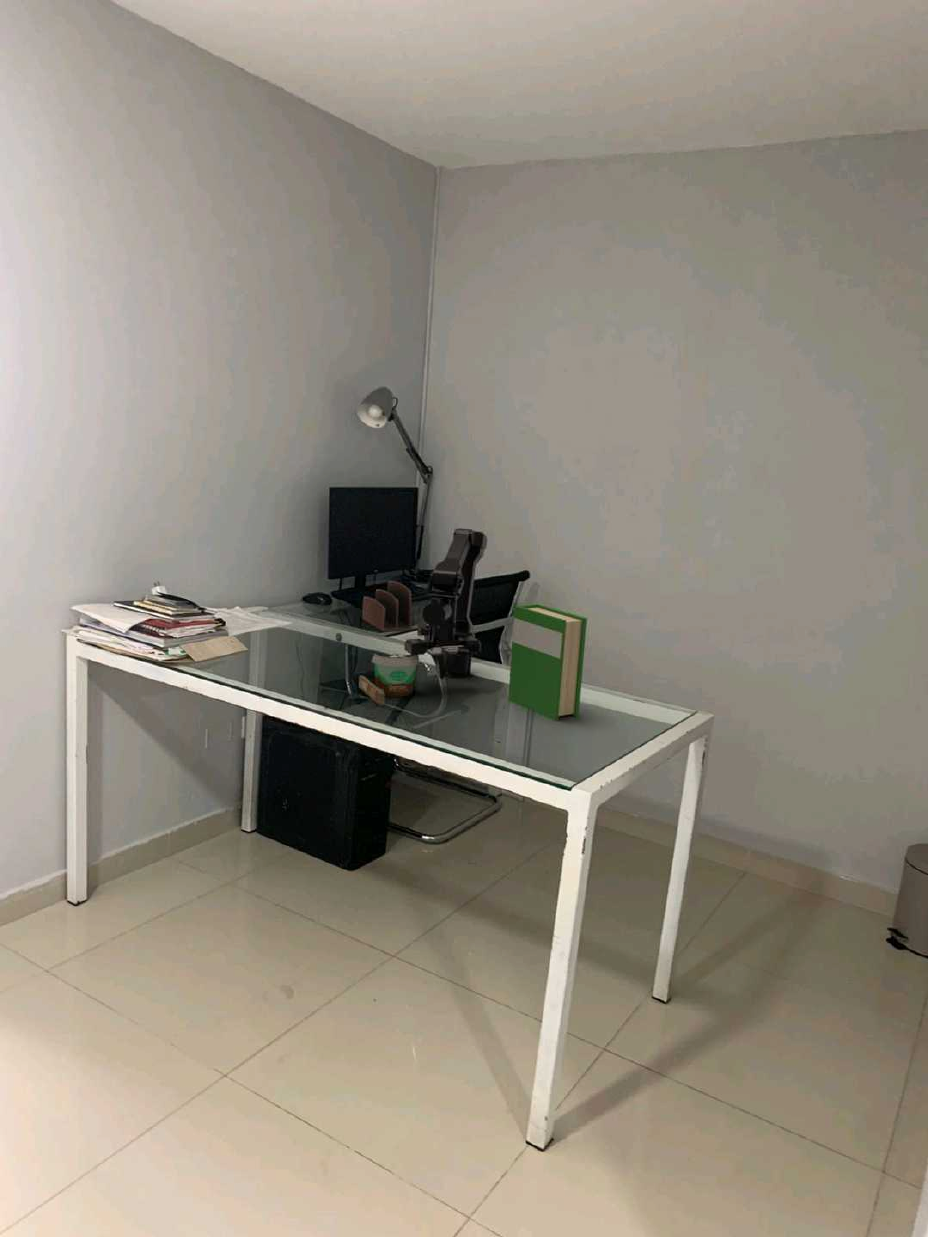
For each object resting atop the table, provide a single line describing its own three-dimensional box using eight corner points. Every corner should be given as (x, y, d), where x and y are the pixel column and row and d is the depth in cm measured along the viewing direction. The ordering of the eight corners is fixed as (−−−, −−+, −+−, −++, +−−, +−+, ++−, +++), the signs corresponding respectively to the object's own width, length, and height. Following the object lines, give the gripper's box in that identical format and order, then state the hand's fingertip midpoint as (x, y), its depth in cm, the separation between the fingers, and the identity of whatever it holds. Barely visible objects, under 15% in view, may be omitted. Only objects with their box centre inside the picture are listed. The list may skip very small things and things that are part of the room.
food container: (380, 700, 225) (381, 660, 223) (370, 692, 231) (372, 653, 229) (426, 695, 231) (428, 656, 229) (415, 688, 236) (417, 650, 234)
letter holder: (389, 618, 319) (390, 577, 316) (411, 631, 301) (413, 588, 298) (361, 619, 314) (362, 578, 311) (382, 632, 297) (384, 589, 294)
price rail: (362, 687, 235) (363, 675, 235) (384, 705, 221) (384, 693, 220) (358, 687, 235) (358, 675, 234) (379, 706, 220) (379, 693, 220)
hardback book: (578, 716, 222) (587, 618, 217) (555, 720, 218) (563, 620, 213) (531, 696, 236) (538, 603, 231) (508, 700, 231) (514, 605, 226)
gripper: (465, 610, 243) (462, 667, 246) (398, 612, 235) (395, 671, 238) (483, 619, 233) (479, 679, 236) (413, 622, 225) (410, 684, 229)
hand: (441, 678), depth 235 cm, fingers closed
